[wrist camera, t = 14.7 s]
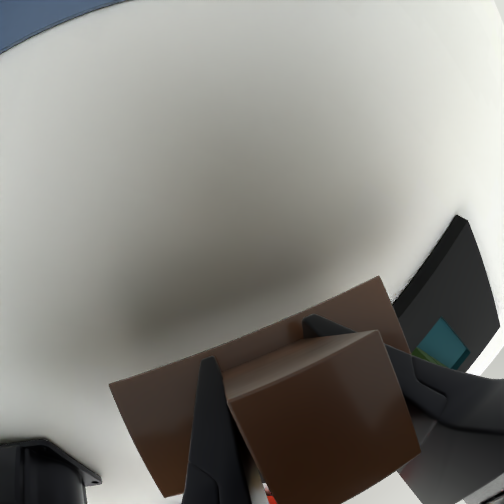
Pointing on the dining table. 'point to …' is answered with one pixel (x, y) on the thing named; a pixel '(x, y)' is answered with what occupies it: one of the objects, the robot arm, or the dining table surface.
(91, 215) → the dining table surface
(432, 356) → the sushi
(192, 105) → the dining table surface
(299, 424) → the hand brush
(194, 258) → the dining table surface
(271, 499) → the tomato
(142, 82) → the dining table surface
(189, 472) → the robot arm
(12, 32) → the dustpan
